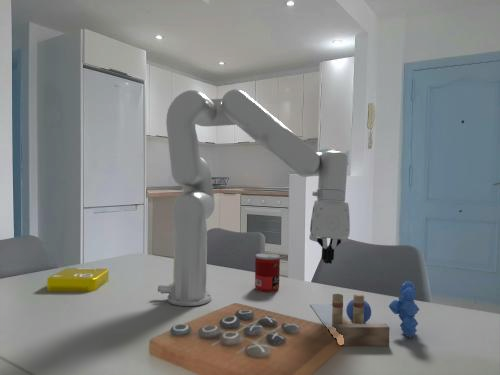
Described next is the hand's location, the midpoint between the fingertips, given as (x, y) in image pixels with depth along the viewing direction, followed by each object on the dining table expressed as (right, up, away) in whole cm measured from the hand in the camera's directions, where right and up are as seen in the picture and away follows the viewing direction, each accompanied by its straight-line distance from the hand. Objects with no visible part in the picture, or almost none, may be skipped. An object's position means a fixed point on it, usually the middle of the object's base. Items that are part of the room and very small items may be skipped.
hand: (327, 262), depth 106 cm
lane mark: (+1, -13, -8) cm, 16 cm away
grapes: (+15, -14, -16) cm, 26 cm away
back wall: (+3, -13, -23) cm, 27 cm away
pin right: (+4, -13, -16) cm, 21 cm away
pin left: (-1, -13, -16) cm, 21 cm away
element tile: (-77, -12, +19) cm, 80 cm away
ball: (+6, -10, -10) cm, 15 cm away
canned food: (-16, -13, +19) cm, 28 cm away
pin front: (+1, -12, -13) cm, 18 cm away
